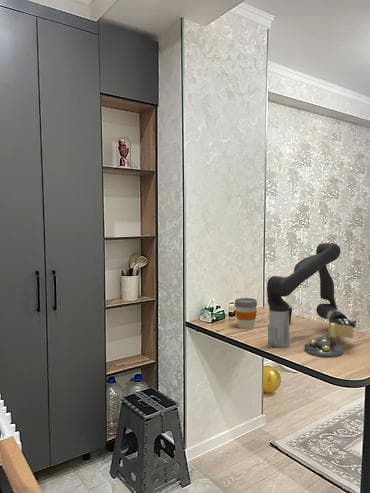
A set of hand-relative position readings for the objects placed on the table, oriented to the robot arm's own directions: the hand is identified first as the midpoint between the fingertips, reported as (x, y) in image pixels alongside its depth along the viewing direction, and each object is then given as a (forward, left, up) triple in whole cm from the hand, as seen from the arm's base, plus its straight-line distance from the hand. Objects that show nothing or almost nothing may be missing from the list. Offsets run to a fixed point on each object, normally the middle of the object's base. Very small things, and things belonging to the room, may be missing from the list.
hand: (349, 329), depth 176 cm
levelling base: (-9, +6, -10) cm, 15 cm away
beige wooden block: (-3, +3, -9) cm, 9 cm away
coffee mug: (+2, +52, -11) cm, 53 cm away
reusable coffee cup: (-21, +56, -11) cm, 61 cm away
